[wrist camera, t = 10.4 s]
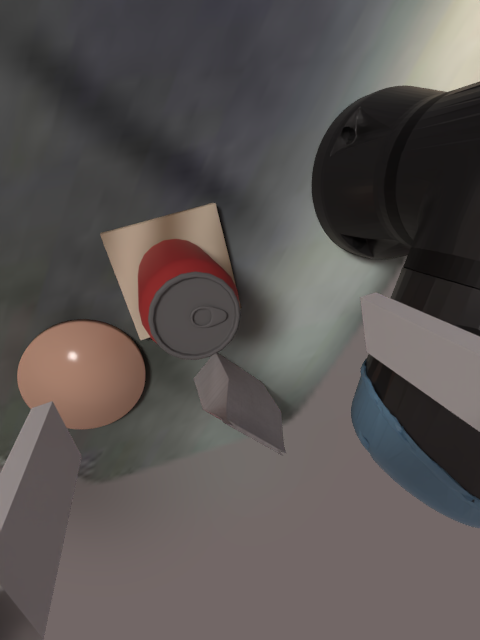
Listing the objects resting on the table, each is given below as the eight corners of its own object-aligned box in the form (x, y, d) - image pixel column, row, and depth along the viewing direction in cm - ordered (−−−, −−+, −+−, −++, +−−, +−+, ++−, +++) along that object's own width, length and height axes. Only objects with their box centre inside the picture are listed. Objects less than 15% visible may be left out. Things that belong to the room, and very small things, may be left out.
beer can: (211, 308, 35) (246, 363, 24) (139, 311, 33) (142, 372, 22) (212, 237, 32) (251, 262, 21) (135, 237, 31) (135, 264, 20)
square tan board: (212, 202, 33) (215, 203, 31) (238, 304, 36) (241, 307, 35) (101, 232, 31) (100, 234, 30) (140, 335, 35) (140, 340, 34)
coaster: (122, 303, 33) (122, 307, 32) (159, 400, 38) (160, 405, 37) (-3, 341, 32) (-7, 346, 31) (51, 438, 36) (49, 445, 35)
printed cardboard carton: (215, 351, 38) (240, 403, 28) (261, 382, 40) (298, 438, 31) (193, 378, 38) (211, 438, 29) (241, 407, 41) (271, 469, 32)
